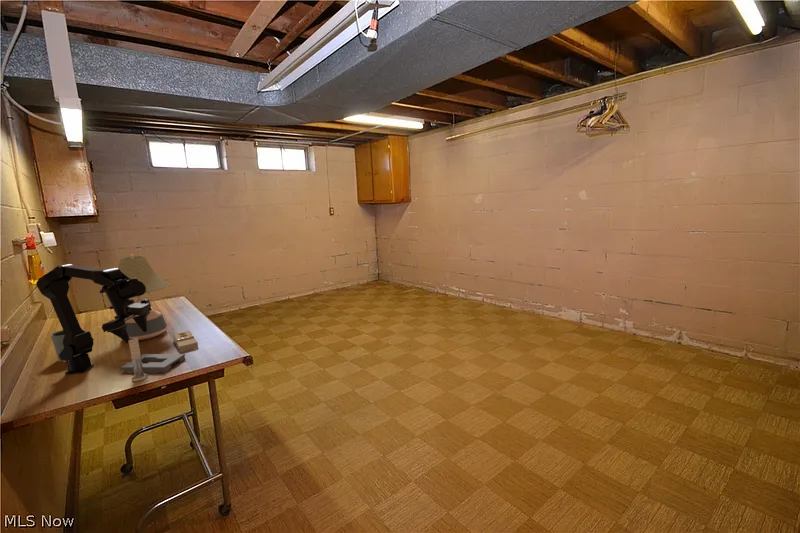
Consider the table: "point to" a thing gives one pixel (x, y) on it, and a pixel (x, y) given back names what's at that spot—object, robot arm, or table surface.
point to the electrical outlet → (185, 341)
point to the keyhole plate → (156, 362)
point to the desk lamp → (152, 282)
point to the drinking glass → (58, 342)
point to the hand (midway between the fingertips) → (137, 336)
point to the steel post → (136, 360)
